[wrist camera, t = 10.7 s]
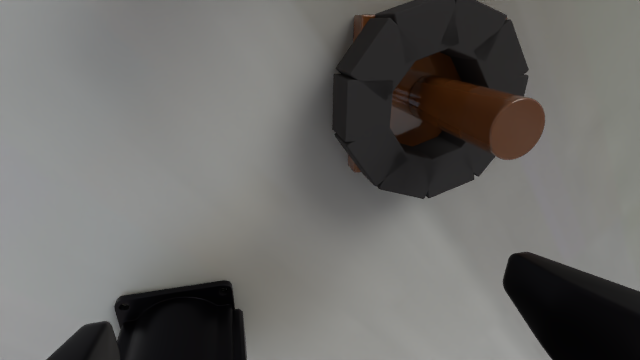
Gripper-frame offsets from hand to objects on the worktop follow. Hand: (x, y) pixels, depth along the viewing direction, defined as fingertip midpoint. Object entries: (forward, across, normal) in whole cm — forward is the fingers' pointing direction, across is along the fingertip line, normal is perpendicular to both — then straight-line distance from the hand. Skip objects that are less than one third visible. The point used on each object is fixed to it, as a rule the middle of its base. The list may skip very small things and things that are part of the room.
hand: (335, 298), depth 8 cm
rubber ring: (+11, -8, -2) cm, 14 cm away
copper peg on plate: (+12, -8, -2) cm, 15 cm away
